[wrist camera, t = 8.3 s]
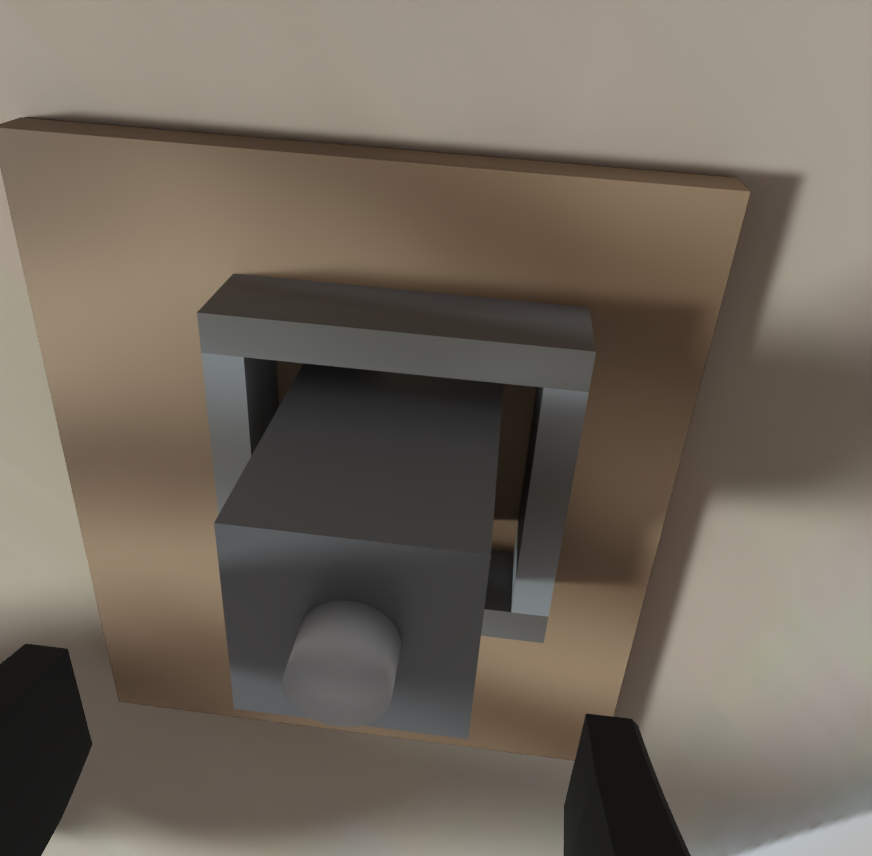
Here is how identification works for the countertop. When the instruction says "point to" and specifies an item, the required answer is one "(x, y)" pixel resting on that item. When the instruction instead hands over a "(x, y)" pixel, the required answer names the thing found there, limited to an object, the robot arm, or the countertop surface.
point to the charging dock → (371, 350)
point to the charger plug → (363, 551)
